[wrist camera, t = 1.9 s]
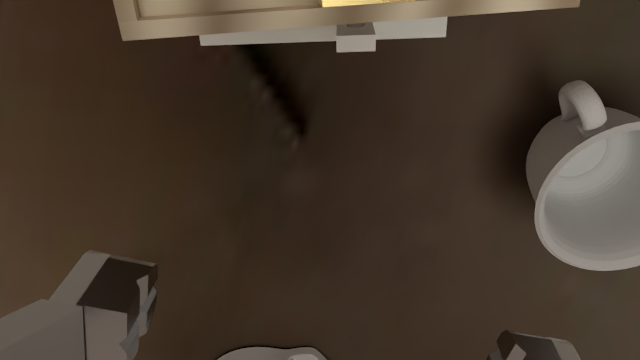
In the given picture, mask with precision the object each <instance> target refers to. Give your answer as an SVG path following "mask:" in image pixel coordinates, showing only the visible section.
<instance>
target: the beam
mask: <svg viewBox="0 0 640 360" xmlns="http://www.w3.org/2000/svg"><path fill="white" fill-rule="evenodd" d="M113 3H114V7H115V11H116V15H117V19H118V24H119V28H120V32H121V36H122V40H123V41H129V40H142V39H155V38H169V37H182V36H195V35H209V34H222V33H235V32H249V31H262V30H275V29H289V28H302V27H316V26H329V25H342V24H347V27H351V28H358V27H363V26H364V23H369V22H382V21H396V20H409V19H423V18H436V17H449V16H463V15H476V14H489V13H503V12H516V11H529V10H543V9H556V8H570V7H579V4H580V0H416V1H406V2H392V3H378V4H364V5H350V6H336V7H322V6H321V5H320V4H319V3H318V2H317V1H316V0H113Z"/></svg>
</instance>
